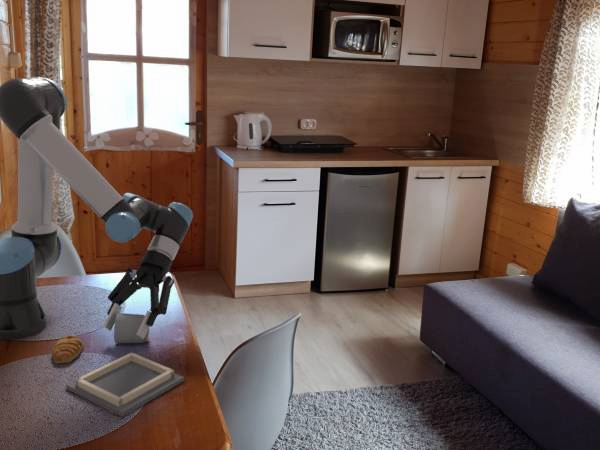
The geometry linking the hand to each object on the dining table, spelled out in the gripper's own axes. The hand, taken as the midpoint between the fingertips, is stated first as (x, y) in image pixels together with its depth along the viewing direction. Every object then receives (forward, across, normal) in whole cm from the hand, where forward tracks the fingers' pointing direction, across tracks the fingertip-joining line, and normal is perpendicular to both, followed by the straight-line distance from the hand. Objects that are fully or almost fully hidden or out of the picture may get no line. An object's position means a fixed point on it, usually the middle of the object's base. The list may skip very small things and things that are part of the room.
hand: (123, 332), depth 151 cm
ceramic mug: (0, +1, -6) cm, 6 cm away
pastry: (+10, +9, +3) cm, 14 cm away
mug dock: (+13, -12, +7) cm, 19 cm away
